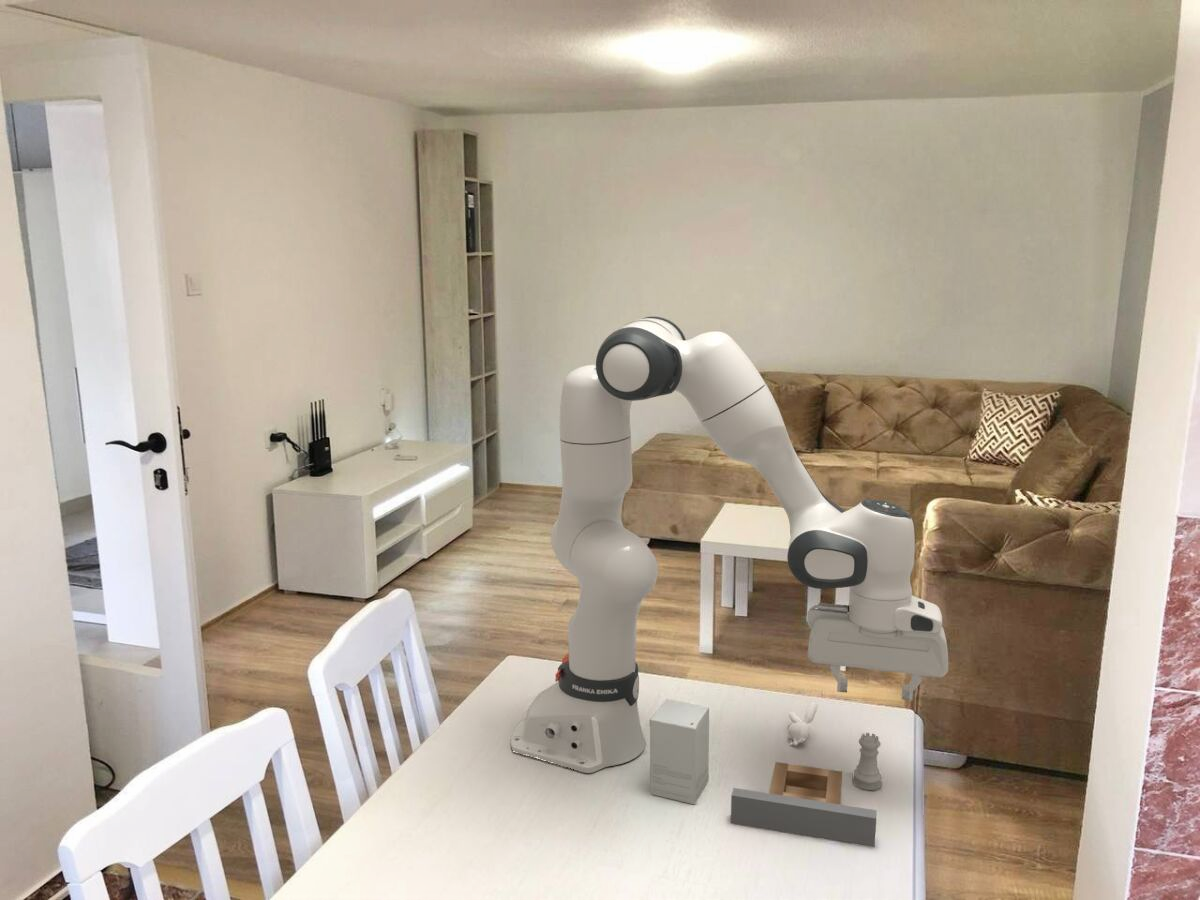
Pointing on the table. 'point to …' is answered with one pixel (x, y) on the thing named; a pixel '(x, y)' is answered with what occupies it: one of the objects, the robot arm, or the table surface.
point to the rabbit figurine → (801, 724)
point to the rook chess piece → (868, 764)
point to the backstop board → (804, 817)
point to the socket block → (806, 782)
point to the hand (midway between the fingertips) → (874, 694)
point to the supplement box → (679, 751)
